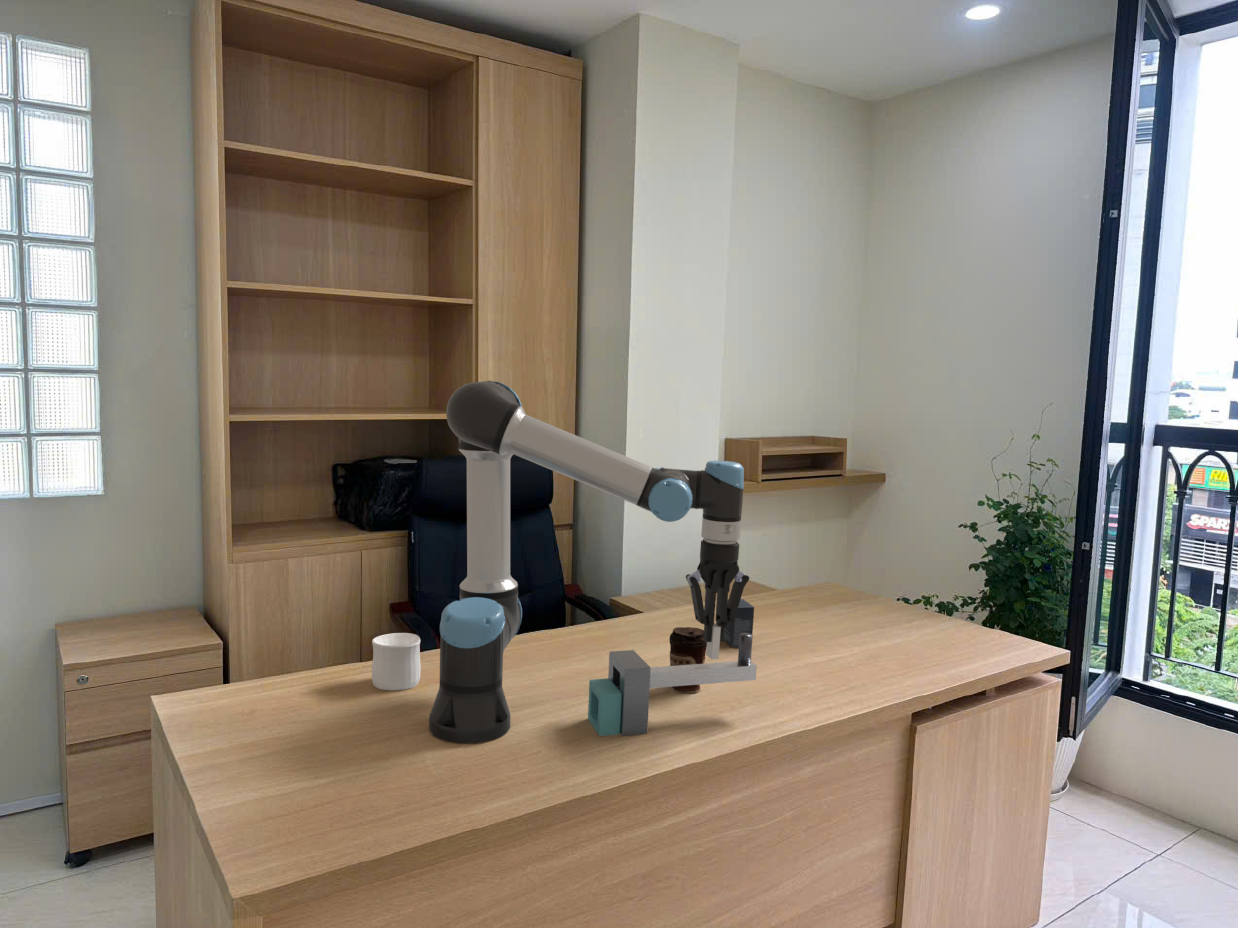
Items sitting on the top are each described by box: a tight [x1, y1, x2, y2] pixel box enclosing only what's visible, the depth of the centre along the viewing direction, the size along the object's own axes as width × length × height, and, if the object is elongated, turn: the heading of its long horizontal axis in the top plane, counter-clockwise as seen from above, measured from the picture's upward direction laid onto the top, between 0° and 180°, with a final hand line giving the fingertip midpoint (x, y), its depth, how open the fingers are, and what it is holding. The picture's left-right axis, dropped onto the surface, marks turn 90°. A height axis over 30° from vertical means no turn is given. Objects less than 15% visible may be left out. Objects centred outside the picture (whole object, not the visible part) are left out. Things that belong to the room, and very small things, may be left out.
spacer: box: [587, 677, 622, 737], centre depth 164 cm, size 4×8×8 cm, turn 18°
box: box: [723, 598, 755, 648], centre depth 218 cm, size 8×6×11 cm
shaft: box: [650, 633, 757, 689], centre depth 169 cm, size 26×3×9 cm, turn 108°
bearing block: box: [607, 649, 652, 737], centre depth 165 cm, size 5×10×13 cm, turn 18°
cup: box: [371, 632, 422, 692], centre depth 181 cm, size 10×10×10 cm
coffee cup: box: [668, 626, 707, 694], centre depth 185 cm, size 9×8×13 cm
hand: (712, 656), depth 170 cm, fingers closed
